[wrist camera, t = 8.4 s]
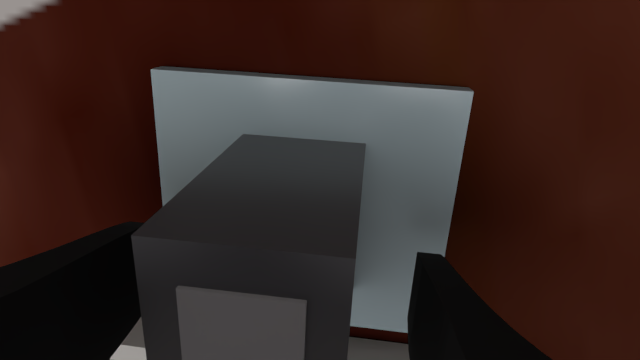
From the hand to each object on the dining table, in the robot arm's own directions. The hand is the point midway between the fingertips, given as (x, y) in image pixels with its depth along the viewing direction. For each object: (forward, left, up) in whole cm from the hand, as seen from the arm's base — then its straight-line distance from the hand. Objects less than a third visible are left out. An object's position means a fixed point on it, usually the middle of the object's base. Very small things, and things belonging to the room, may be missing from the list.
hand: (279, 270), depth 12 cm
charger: (0, 0, -4) cm, 4 cm away
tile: (0, 0, -4) cm, 4 cm away
